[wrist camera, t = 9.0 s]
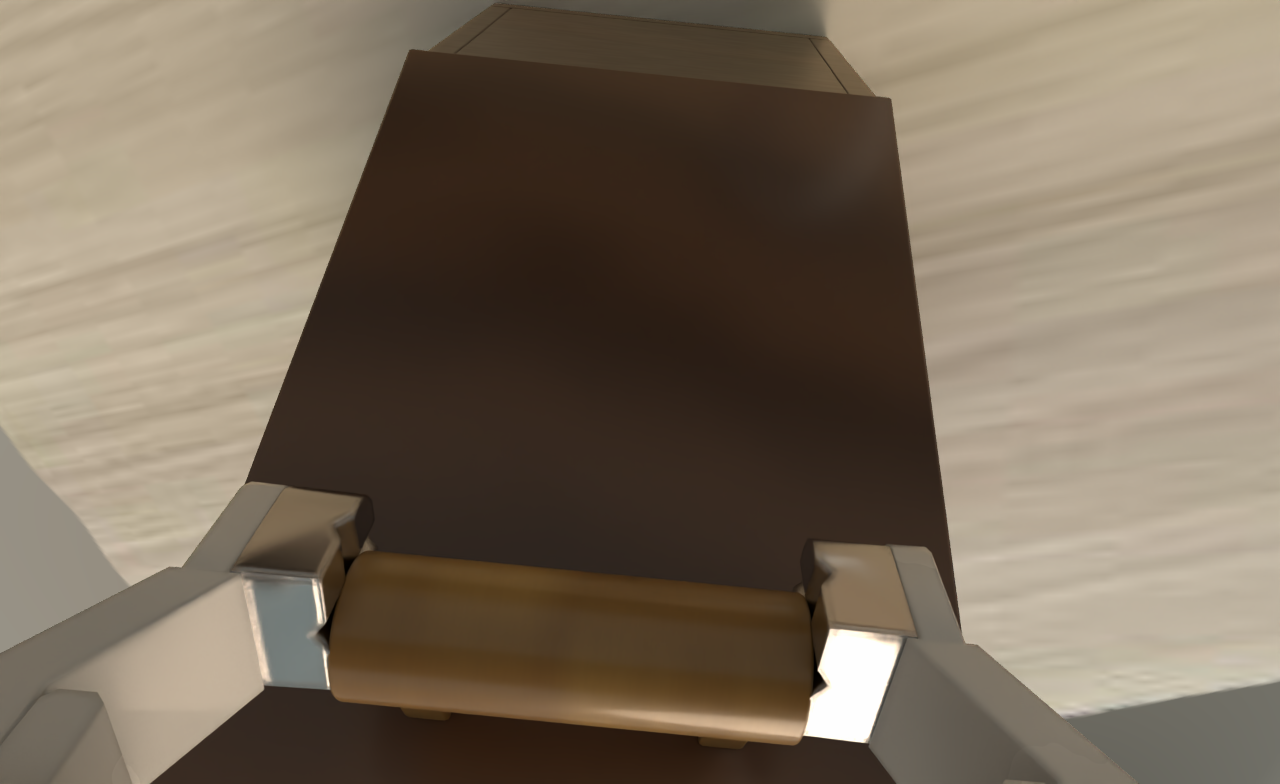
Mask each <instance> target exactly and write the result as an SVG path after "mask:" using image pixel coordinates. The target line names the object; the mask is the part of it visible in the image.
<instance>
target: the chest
mask: <svg viewBox="0 0 1280 784" xmlns="http://www.w3.org/2000/svg"><path fill="white" fill-rule="evenodd" d="M428 51H434V52H444V53H454V54H464V55H473V56H483V57H493V58H503V59H513V60H523V61H532V62H542V63H552V64H562V65H572V66H581V67H591V68H601V69H611V70H621V71H631V72H640V73H650V74H660V75H670V76H680V77H690V78H699V79H709V80H719V81H729V82H739V83H748V84H758V85H768V86H778V87H788V88H798V89H807V90H817V91H827V92H837V93H847V94H856V95H866V96H875V95H874V94H873V92H872V91H871V90H870V89H869V87H868V86H867V85H866V84H865V83H864V81H863V80H862V79H861V78H860V76H859V75H858V74H857V73H856V72H855V70H854V69H853V68H852V67H851V65H850V64H849V63H848V62H847V61H846V59H845V58H844V57H843V56H842V54H841V53H840V52H839V51H838V50H837V48H836V47H835V46H834V45H833V43H832V42H831V41H830V40H829V39H828V38H827V37H822V36H812V35H803V34H793V33H783V32H773V31H763V30H754V29H744V28H734V27H724V26H714V25H705V24H695V23H685V22H675V21H666V20H656V19H646V18H636V17H626V16H617V15H607V14H597V13H587V12H577V11H568V10H558V9H548V8H538V7H529V6H519V5H509V4H499V3H494V4H493V5H491V6H490V7H489V8H487V9H486V10H484V11H483V12H482V13H480V14H479V15H477V16H476V17H475V18H473V19H472V20H470V21H469V22H467V23H466V24H465V25H463V26H462V27H460V28H459V29H458V30H456V31H455V32H453V33H452V34H451V35H449V36H448V37H446V38H445V39H444V40H442V41H441V42H439V43H438V44H437V45H435V46H434V47H432V48H431V49H430V50H428Z"/></svg>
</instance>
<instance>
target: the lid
mask: <svg viewBox="0 0 1280 784" xmlns="http://www.w3.org/2000/svg"><path fill="white" fill-rule="evenodd" d="M251 481H252V482H261V483H270V484H278V485H286V486H291V485H292V486H300V487H308V488H317V489H325V490H333V491H342V492H350V493H358V494H367V495H368V496H369V497H370V498H371V499H372V501H373V508H374V516H375V521H374V523H373V526H372V528H371V530H370V532H369V534H368V537H369V538H370V539H371V540H372V541H373V542H374V544H375V545H376V546H377V547H378V551H371V550H368V551H364V552H362V553H360V554H359V555H358V557H357V558H356V559H355V560H354V561H353V563H352V565H351V566H350V568H349V570H348V572H347V574H346V582H345V584H344V587H343V589H342V591H341V593H340V595H339V597H338V599H337V603H336V607H335V611H334V615H333V620H332V625H331V631H330V638H329V649H330V654H328V678H329V685H330V689H331V690H325V689H310V688H296V687H281V686H266V685H264V690H263V691H262V692H261V693H259V694H258V695H257V696H256V697H254V698H253V699H252V700H251V701H250V702H248V703H247V704H246V705H245V706H244V707H242V708H241V709H240V710H239V711H237V712H236V713H235V714H234V715H233V716H231V717H230V718H229V719H228V720H227V721H225V722H224V723H223V724H222V725H220V726H219V727H218V728H217V729H216V730H214V731H213V732H212V733H211V734H210V735H208V736H207V737H206V738H205V739H203V740H202V741H201V742H200V743H199V744H197V745H196V746H195V747H194V748H192V749H191V750H190V751H189V752H188V753H186V754H185V755H184V756H183V757H182V758H180V759H179V760H178V761H177V762H175V763H174V764H173V765H172V766H171V767H169V768H168V769H167V770H166V771H165V772H163V773H162V774H161V775H160V776H158V777H157V778H156V779H155V780H154V781H152V782H151V783H150V784H896V782H895V781H894V780H893V779H892V777H891V776H890V775H889V773H888V772H887V771H886V769H885V768H884V767H883V765H882V764H881V763H880V761H879V760H878V759H877V757H876V756H875V755H874V753H873V752H872V751H871V749H870V748H869V744H870V743H862V742H854V741H846V740H838V739H830V738H821V737H813V736H805V735H803V734H804V732H805V729H806V725H807V722H808V717H809V712H810V707H811V700H810V696H811V694H812V690H813V678H814V645H813V640H812V634H811V627H810V625H811V621H812V620H811V614H810V610H809V606H808V603H807V601H806V598H805V597H804V595H802V594H800V593H798V592H792V591H793V587H794V586H796V585H797V584H798V583H800V582H801V581H802V573H801V567H800V558H801V554H802V551H803V547H804V545H805V543H806V541H807V539H808V538H816V539H827V540H838V541H849V542H860V543H870V544H881V545H886V544H893V545H906V546H919V547H926V548H927V549H928V550H929V551H930V552H931V553H932V556H933V558H934V561H935V564H936V566H937V569H938V572H939V574H940V577H941V580H942V582H943V585H944V588H945V590H946V593H947V596H948V598H949V601H950V604H951V606H952V609H953V612H954V614H955V617H956V620H957V622H958V625H959V628H960V630H961V623H960V616H959V608H958V601H957V593H956V586H955V578H954V571H953V563H952V555H951V548H950V540H949V533H948V525H947V518H946V510H945V502H944V495H943V487H942V480H941V472H940V465H939V457H938V449H937V442H936V434H935V427H934V419H933V412H932V404H931V397H930V389H929V381H928V374H927V366H926V359H925V351H924V344H923V336H922V328H921V321H920V313H919V306H918V298H917V291H916V283H915V275H914V268H913V260H912V253H911V245H910V238H909V230H908V223H907V215H906V207H905V200H904V192H903V185H902V177H901V170H900V162H899V154H898V147H897V139H896V132H895V124H894V117H893V109H892V102H891V99H890V98H886V97H876V96H866V95H856V94H847V93H837V92H827V91H817V90H807V89H798V88H788V87H778V86H768V85H758V84H748V83H739V82H729V81H719V80H709V79H699V78H690V77H680V76H670V75H660V74H650V73H640V72H631V71H621V70H611V69H601V68H591V67H581V66H572V65H562V64H552V63H542V62H532V61H523V60H513V59H503V58H493V57H483V56H473V55H464V54H454V53H444V52H434V51H424V50H415V49H411V50H409V52H408V55H407V57H406V60H405V62H404V65H403V68H402V70H401V73H400V76H399V78H398V81H397V84H396V86H395V89H394V92H393V94H392V97H391V99H390V102H389V105H388V107H387V110H386V113H385V115H384V118H383V121H382V123H381V126H380V129H379V131H378V134H377V136H376V139H375V142H374V144H373V147H372V150H371V152H370V155H369V158H368V160H367V163H366V165H365V168H364V171H363V173H362V176H361V179H360V181H359V184H358V187H357V189H356V192H355V195H354V197H353V200H352V202H351V205H350V208H349V210H348V213H347V216H346V218H345V221H344V224H343V226H342V229H341V231H340V234H339V237H338V239H337V242H336V245H335V247H334V250H333V253H332V255H331V258H330V261H329V263H328V266H327V268H326V271H325V274H324V276H323V279H322V282H321V284H320V287H319V290H318V292H317V295H316V298H315V300H314V303H313V305H312V308H311V311H310V313H309V316H308V319H307V321H306V324H305V327H304V329H303V332H302V334H301V337H300V340H299V342H298V345H297V348H296V350H295V353H294V356H293V358H292V361H291V364H290V366H289V369H288V371H287V374H286V377H285V379H284V382H283V385H282V387H281V390H280V393H279V395H278V398H277V400H276V403H275V406H274V408H273V411H272V414H271V416H270V419H269V422H268V424H267V427H266V430H265V432H264V435H263V437H262V440H261V443H260V445H259V448H258V451H257V453H256V456H255V459H254V461H253V464H252V467H251V469H250V472H249V474H248V477H247V480H246V482H245V484H247V483H249V482H251ZM961 633H962V631H961Z"/></svg>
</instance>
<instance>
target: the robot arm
mask: <svg viewBox="0 0 1280 784" xmlns="http://www.w3.org/2000/svg"><path fill="white" fill-rule="evenodd" d="M374 521H375V516H374V508H373V501H372V499H371V498H370V497H369V496H368V495H367V494H358V493H350V492H342V491H333V490H325V489H317V488H308V487H300V486H292V485H291V486H286V485H278V484H270V483H261V482H252V481H251V482H249V483H247V484H245V485H243V486H242V487H241V488H240V489H239V490H238V492H237V493H236V494H235V496H234V497H233V498H232V500H231V501H230V503H229V504H228V505H227V507H226V508H225V509H224V511H223V512H222V513H221V515H220V516H219V518H218V519H217V520H216V522H215V523H214V524H213V526H212V527H211V528H210V530H209V531H208V533H207V534H206V535H205V537H204V538H203V539H202V541H201V542H200V543H199V545H198V546H197V547H196V549H195V550H194V552H193V553H192V554H191V556H190V557H189V558H188V560H187V561H186V562H185V564H184V565H183V567H182V568H180V567H168V568H166V569H164V570H162V571H160V572H158V573H156V574H154V575H152V576H150V577H148V578H146V579H144V580H142V581H140V582H139V583H137V584H135V585H133V586H131V587H129V588H127V589H125V590H123V591H121V592H119V593H117V594H115V595H113V596H111V597H109V598H108V599H105V600H103V601H101V602H99V603H98V604H96V605H94V606H92V607H90V608H88V609H86V610H84V611H82V612H80V613H78V614H76V615H74V616H72V617H70V618H68V619H66V620H65V621H62V622H61V623H58V624H57V625H55V626H53V627H51V628H49V629H47V630H45V631H43V632H41V633H39V634H37V635H35V636H33V637H31V638H29V639H27V640H26V641H23V642H21V643H19V644H17V645H16V646H14V647H12V648H10V649H8V650H6V651H4V652H2V653H0V784H150V783H151V782H152V781H154V780H155V779H156V778H157V777H158V776H160V775H161V774H162V773H163V772H165V771H166V770H167V769H168V768H169V767H171V766H172V765H173V764H174V763H175V762H177V761H178V760H179V759H180V758H182V757H183V756H184V755H185V754H186V753H188V752H189V751H190V750H191V749H192V748H194V747H195V746H196V745H197V744H199V743H200V742H201V741H202V740H203V739H205V738H206V737H207V736H208V735H210V734H211V733H212V732H213V731H214V730H216V729H217V728H218V727H219V726H220V725H222V724H223V723H224V722H225V721H227V720H228V719H229V718H230V717H231V716H233V715H234V714H235V713H236V712H237V711H239V710H240V709H241V708H242V707H244V706H245V705H246V704H247V703H248V702H250V701H251V700H252V699H253V698H254V697H256V696H257V695H258V694H259V693H261V692H262V691H263V690H264V685H266V686H281V687H296V688H310V689H325V690H331V689H330V685H329V678H328V654H330V649H329V638H330V631H331V625H332V620H333V615H334V611H335V607H336V603H337V599H338V597H339V595H340V593H341V591H342V589H343V587H344V584H345V582H346V574H347V572H348V570H349V568H350V566H351V565H352V563H353V561H354V560H355V559H356V558H357V557H358V555H359V554H360V553H362V552H364V551H368V550H371V551H378V547H377V546H376V545H375V544H374V542H373V541H372V540H371V539H370V538H369V537H368V534H369V532H370V530H371V528H372V526H373V523H374ZM800 567H801V573H802V581H801V582H800V583H798V584H797V585H796V586H794V587H793V591H792V592H798V593H800V594H802V595H804V597H805V598H806V601H807V603H808V606H809V610H810V614H811V620H812V621H811V625H810V627H811V634H812V640H813V645H814V678H813V690H812V694H811V696H810V700H811V707H810V712H809V717H808V722H807V725H806V729H805V732H804V734H803V735H805V736H813V737H821V738H830V739H838V740H846V741H854V742H862V743H870V744H869V748H870V749H871V751H872V752H873V753H874V755H875V756H876V757H877V759H878V760H879V761H880V763H881V764H882V765H883V767H884V768H885V769H886V771H887V772H888V773H889V775H890V776H891V777H892V779H893V780H894V781H895V782H896V784H1139V783H1138V782H1137V781H1135V780H1134V779H1133V778H1132V777H1131V776H1129V775H1128V774H1127V773H1126V772H1125V771H1124V770H1123V769H1121V768H1120V767H1119V766H1118V765H1117V764H1116V763H1115V762H1113V761H1112V760H1111V759H1110V758H1109V757H1107V756H1106V755H1105V754H1104V753H1103V752H1102V751H1100V750H1099V749H1098V748H1097V747H1096V746H1095V745H1093V744H1092V743H1091V742H1090V741H1089V740H1088V739H1086V738H1085V737H1084V736H1083V735H1082V734H1081V733H1080V732H1078V731H1077V730H1076V729H1075V728H1074V727H1072V726H1071V725H1070V724H1069V723H1068V722H1067V721H1066V720H1064V719H1063V718H1062V717H1061V716H1060V715H1059V714H1057V713H1056V712H1055V711H1054V710H1053V709H1052V708H1050V707H1049V706H1048V705H1047V704H1046V703H1045V702H1043V701H1042V700H1041V699H1040V698H1039V697H1038V696H1036V695H1035V694H1034V693H1033V692H1032V691H1031V690H1029V689H1028V688H1027V687H1026V686H1025V685H1024V684H1022V683H1021V682H1020V681H1019V680H1018V679H1017V678H1015V677H1014V676H1013V675H1012V674H1011V673H1010V672H1008V671H1007V670H1006V669H1005V668H1004V667H1003V666H1001V665H1000V664H999V663H998V662H997V661H996V660H994V659H993V658H992V657H991V656H990V655H989V654H987V653H986V652H985V651H984V650H983V649H982V648H980V647H979V646H978V645H974V644H965V641H964V638H963V636H962V633H961V630H960V628H959V625H958V622H957V620H956V617H955V614H954V612H953V609H952V606H951V604H950V601H949V598H948V596H947V593H946V590H945V588H944V585H943V582H942V580H941V577H940V574H939V572H938V569H937V566H936V564H935V561H934V558H933V556H932V553H931V552H930V551H929V550H928V549H927V548H926V547H919V546H906V545H893V544H886V545H881V544H870V543H860V542H849V541H838V540H827V539H816V538H808V539H807V541H806V543H805V545H804V547H803V551H802V554H801V558H800Z"/></svg>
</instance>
